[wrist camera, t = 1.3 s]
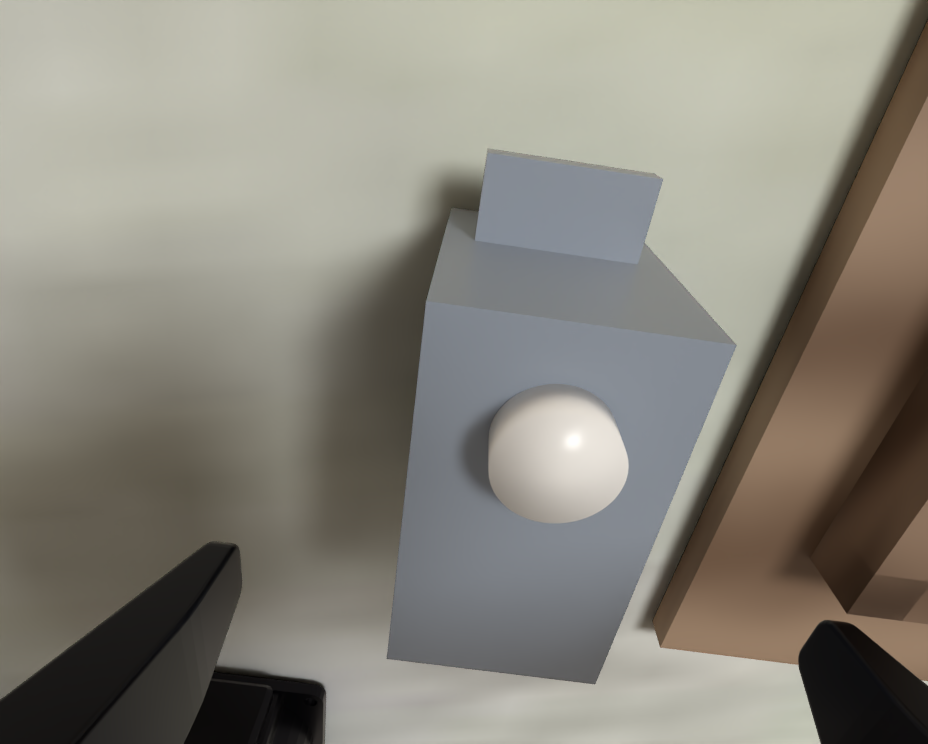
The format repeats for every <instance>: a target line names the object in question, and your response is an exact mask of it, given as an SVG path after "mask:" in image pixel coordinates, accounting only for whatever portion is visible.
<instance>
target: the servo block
mask: <svg viewBox="0 0 928 744" xmlns="http://www.w3.org/2000/svg"><path fill="white" fill-rule="evenodd" d="M662 181H663V179H662V178H660V177H659V176H657V175H656V174H653V173H647V172H640V171H633V170H627V169H620V168H613V167H607V166H600V165H594V164H587V163H580V162H574V161H567V160H561V159H554V158H547V157H541V156H534V155H528V154H521V153H514V152H508V151H501V150H494V149H488V150H487V157H486V164H485V170H484V177H483V184H482V191H481V198H480V205H479V211H472V210H465V209H459V208H451V212H450V215H449V219H448V223H447V226H446V230H445V234H444V237H443V241H442V245H441V248H440V252H439V256H438V259H437V263H436V267H435V270H434V274H433V278H432V281H431V285H430V289H429V292H428V296H427V300H426V307H425V316H424V325H423V334H422V343H421V352H420V361H419V370H418V379H417V389H416V398H415V407H414V416H413V425H412V434H411V443H410V452H409V461H408V470H407V480H406V489H405V498H404V507H403V516H402V525H401V534H400V543H399V552H398V561H397V571H396V580H395V589H394V598H393V607H392V616H391V625H390V634H389V643H388V652H387V659H393V660H401V661H410V662H418V663H426V664H434V665H442V666H450V667H458V668H467V669H475V670H483V671H491V672H499V673H507V674H516V675H524V676H532V677H540V678H548V679H556V680H565V681H573V682H581V683H589V684H595V683H596V681H597V679H598V676H599V674H600V671H601V669H602V667H603V664H604V662H605V659H606V657H607V655H608V652H609V650H610V647H611V645H612V643H613V640H614V638H615V635H616V633H617V631H618V628H619V626H620V623H621V621H622V619H623V616H624V614H625V611H626V609H627V607H628V604H629V602H630V599H631V597H632V595H633V592H634V590H635V587H636V585H637V583H638V580H639V578H640V575H641V573H642V571H643V568H644V566H645V563H646V561H647V559H648V556H649V554H650V551H651V549H652V547H653V544H654V542H655V539H656V537H657V535H658V532H659V530H660V527H661V525H662V523H663V520H664V518H665V515H666V513H667V511H668V508H669V506H670V504H671V501H672V499H673V496H674V494H675V492H676V489H677V487H678V484H679V482H680V480H681V477H682V475H683V472H684V470H685V468H686V465H687V463H688V460H689V458H690V456H691V453H692V451H693V448H694V446H695V444H696V441H697V439H698V436H699V434H700V432H701V429H702V427H703V424H704V422H705V420H706V417H707V415H708V412H709V410H710V408H711V405H712V403H713V400H714V398H715V396H716V393H717V391H718V388H719V386H720V384H721V381H722V379H723V376H724V374H725V372H726V369H727V367H728V364H729V362H730V360H731V357H732V355H733V352H734V350H735V348H736V344H735V343H734V342H733V341H732V339H731V338H730V337H729V336H728V335H727V334H726V333H725V332H724V331H723V329H722V328H721V327H720V326H719V325H718V324H717V323H716V322H715V321H714V319H713V318H712V317H711V316H710V315H709V314H708V313H707V312H706V311H705V309H704V308H703V307H702V306H701V305H700V304H699V303H698V302H697V300H696V299H695V298H694V297H693V296H692V295H691V294H690V293H689V292H688V290H687V289H686V288H685V287H684V286H683V285H682V284H681V283H680V282H679V280H678V279H677V278H676V277H675V276H674V275H673V274H672V273H671V272H670V270H669V269H668V268H667V267H666V266H665V265H664V264H663V263H662V262H661V260H660V259H659V258H658V257H657V256H656V255H655V254H654V253H653V252H652V250H651V249H650V248H649V247H648V246H647V245H646V244H645V243H644V242H645V238H646V235H647V232H648V228H649V225H650V222H651V218H652V215H653V212H654V208H655V205H656V201H657V198H658V195H659V191H660V188H661V185H662Z"/></svg>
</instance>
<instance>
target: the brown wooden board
mask: <svg viewBox="0 0 928 744" xmlns="http://www.w3.org/2000/svg"><path fill="white" fill-rule="evenodd" d="M823 620H833V621H841V622H847V623H850V624H853V625H855V626H856V627H857V628H859V629H860V630H861V631H862V632H864V633H865V634H866V635H867V636H868V637H870V638H871V639H872V640H873V641H874V642H876V643H877V644H878V645H879V646H880V647H882V648H883V649H884V650H885V651H886V652H888V653H889V654H890V655H891V656H892V657H894V658H895V659H896V660H897V661H898V662H900V663H901V664H902V665H903V666H904V667H906V668H907V669H908V670H909V671H910V672H912V673H913V674H914V675H915V676H917V677H918V678H919V679H920V680H924V681H928V21H927V23H926V25H925V27H924V29H923V31H922V34H921V36H920V38H919V40H918V42H917V45H916V47H915V49H914V51H913V53H912V55H911V58H910V60H909V62H908V64H907V66H906V69H905V71H904V73H903V75H902V77H901V80H900V82H899V84H898V86H897V88H896V90H895V93H894V95H893V97H892V99H891V101H890V104H889V106H888V108H887V110H886V112H885V114H884V117H883V119H882V121H881V123H880V125H879V128H878V130H877V132H876V134H875V136H874V138H873V141H872V143H871V145H870V147H869V149H868V152H867V154H866V156H865V158H864V160H863V162H862V165H861V167H860V169H859V171H858V173H857V176H856V178H855V180H854V182H853V184H852V187H851V189H850V191H849V193H848V195H847V197H846V200H845V202H844V204H843V206H842V208H841V211H840V213H839V215H838V217H837V219H836V221H835V224H834V226H833V228H832V230H831V232H830V235H829V237H828V239H827V241H826V243H825V245H824V248H823V250H822V252H821V254H820V256H819V259H818V261H817V263H816V265H815V267H814V269H813V272H812V274H811V276H810V278H809V280H808V283H807V285H806V287H805V289H804V291H803V294H802V296H801V298H800V300H799V302H798V304H797V307H796V309H795V311H794V313H793V315H792V318H791V320H790V322H789V324H788V326H787V328H786V331H785V333H784V335H783V337H782V339H781V342H780V344H779V346H778V348H777V350H776V352H775V355H774V357H773V359H772V361H771V363H770V366H769V368H768V370H767V372H766V374H765V376H764V379H763V381H762V383H761V385H760V387H759V390H758V392H757V394H756V396H755V398H754V401H753V403H752V405H751V407H750V409H749V411H748V414H747V416H746V418H745V420H744V422H743V425H742V427H741V429H740V431H739V433H738V435H737V438H736V440H735V442H734V444H733V446H732V449H731V451H730V453H729V455H728V457H727V459H726V462H725V464H724V466H723V468H722V470H721V473H720V475H719V477H718V479H717V481H716V484H715V486H714V488H713V490H712V492H711V494H710V497H709V499H708V501H707V503H706V505H705V508H704V510H703V512H702V514H701V516H700V518H699V521H698V523H697V525H696V527H695V529H694V532H693V534H692V536H691V538H690V540H689V542H688V545H687V547H686V549H685V551H684V553H683V556H682V558H681V560H680V562H679V564H678V566H677V569H676V571H675V573H674V575H673V577H672V580H671V582H670V584H669V586H668V588H667V591H666V593H665V595H664V597H663V599H662V601H661V604H660V606H659V608H658V610H657V612H656V615H655V617H654V619H653V625H654V628H655V631H656V635H657V638H658V641H659V645H660V647H661V648H669V649H677V650H685V651H693V652H701V653H709V654H717V655H725V656H733V657H741V658H749V659H757V660H765V661H773V662H781V663H789V664H797V665H798V656H799V652H800V650H801V648H802V647H803V645H804V644H805V642H806V641H807V639H808V638H809V636H810V635H811V633H812V632H813V630H814V629H815V628H816V626H817V625H818V624H819V623H820V622H821V621H823Z"/></svg>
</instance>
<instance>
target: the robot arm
mask: <svg viewBox="0 0 928 744" xmlns="http://www.w3.org/2000/svg"><path fill="white" fill-rule="evenodd" d="M241 588H242V573H241V560H240V550H239V547H238V546H237V545H236V544H232V543H224V542H217V541H212V542H209V543H207V544H205V545H204V546H203V547H201V548H200V549H199V550H197V551H196V552H195V553H193V554H192V555H191V556H189V557H188V558H187V559H185V560H184V561H183V562H181V563H180V564H179V565H177V566H176V567H175V568H174V569H172V570H171V571H170V572H168V573H167V574H166V575H164V576H163V577H162V578H160V579H159V580H158V581H156V582H155V583H154V584H152V585H151V586H150V587H148V588H147V589H146V590H145V591H143V592H142V593H141V594H139V595H138V596H137V597H135V598H134V599H133V600H131V601H130V602H129V603H127V604H126V605H125V606H123V607H122V608H121V609H119V610H118V611H117V612H115V613H114V614H113V615H112V616H110V617H109V618H108V619H106V620H105V621H104V622H102V623H101V624H100V625H98V626H97V627H96V628H94V629H93V630H92V631H90V632H89V633H88V634H86V635H85V636H84V637H83V638H81V639H80V640H79V641H77V642H76V643H75V644H73V645H72V646H71V647H69V648H68V649H67V650H65V651H64V652H63V653H61V654H60V655H59V656H57V657H56V658H55V659H54V660H52V661H51V662H50V663H48V664H47V665H46V666H44V667H43V668H42V669H40V670H39V671H38V672H36V673H35V674H34V675H32V676H31V677H30V678H28V679H27V680H26V681H24V682H23V683H22V684H21V685H19V686H18V687H17V688H15V689H14V690H13V691H11V692H10V693H9V694H7V695H6V696H5V697H3V698H2V699H1V700H0V744H325V718H326V691H325V690H324V689H323V688H322V687H320V686H318V685H314V684H306V683H298V682H290V681H282V680H273V679H265V678H257V677H249V676H240V675H232V674H224V673H216V672H214V669H215V666H216V663H217V660H218V657H219V654H220V652H221V649H222V646H223V643H224V640H225V637H226V634H227V632H228V629H229V626H230V623H231V620H232V617H233V614H234V612H235V609H236V606H237V603H238V600H239V597H240V593H241ZM798 665H799V670H800V674H801V677H802V680H803V684H804V687H805V691H806V694H807V698H808V701H809V705H810V708H811V711H812V715H813V718H814V722H815V725H816V729H817V732H818V736H819V739H820V742H821V744H928V686H927V685H926V684H925V683H924V682H923V681H921V680H920V679H919V678H918V677H917V676H915V675H914V674H913V673H912V672H910V671H909V670H908V669H907V668H906V667H904V666H903V665H902V664H901V663H900V662H898V661H897V660H896V659H895V658H894V657H892V656H891V655H890V654H889V653H888V652H886V651H885V650H884V649H883V648H882V647H880V646H879V645H878V644H877V643H876V642H874V641H873V640H872V639H871V638H870V637H868V636H867V635H866V634H865V633H864V632H862V631H861V630H860V629H859V628H857V627H856V626H855V625H853V624H850V623H847V622H841V621H833V620H823V621H821V622H820V623H819V624H818V625H817V626H816V628H815V629H814V630H813V632H812V633H811V635H810V636H809V638H808V639H807V641H806V642H805V644H804V645H803V647H802V648H801V650H800V652H799V656H798Z"/></svg>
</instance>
